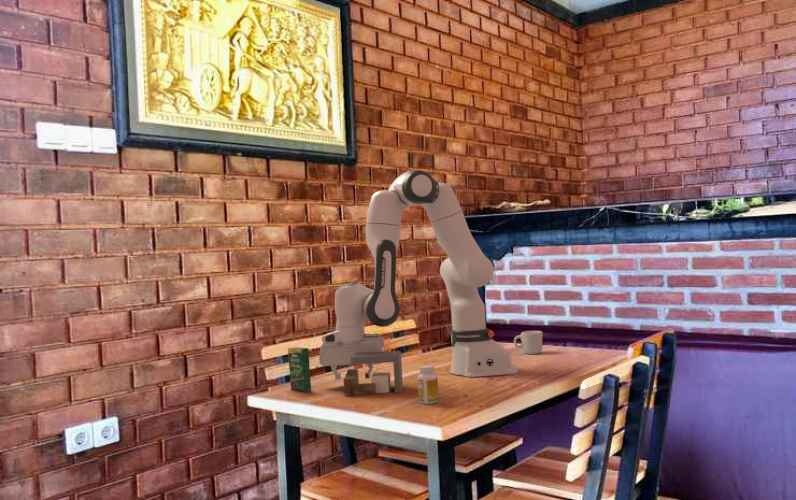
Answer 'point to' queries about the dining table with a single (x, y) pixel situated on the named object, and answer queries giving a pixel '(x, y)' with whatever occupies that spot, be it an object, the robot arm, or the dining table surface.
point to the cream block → (381, 382)
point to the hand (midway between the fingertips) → (353, 378)
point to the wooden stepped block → (356, 385)
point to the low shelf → (382, 358)
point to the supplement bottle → (427, 385)
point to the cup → (530, 341)
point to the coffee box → (299, 369)
